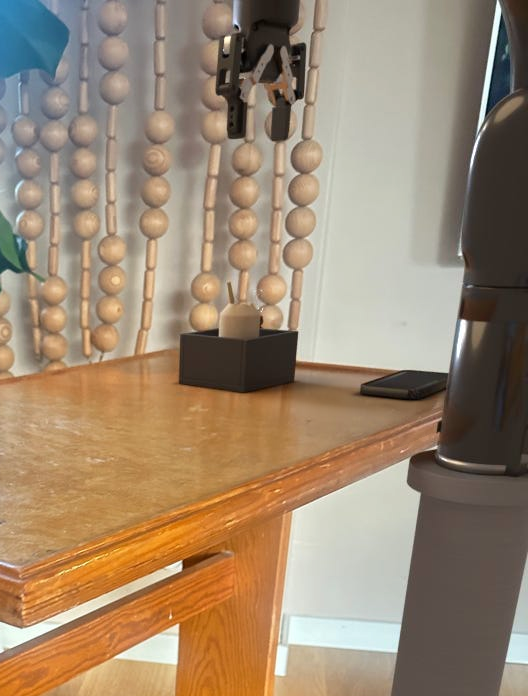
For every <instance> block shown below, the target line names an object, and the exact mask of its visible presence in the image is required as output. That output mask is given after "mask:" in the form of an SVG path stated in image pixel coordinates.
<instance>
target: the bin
mask: <svg viewBox="0 0 528 696" xmlns="http://www.w3.org/2000/svg"><path fill="white" fill-rule="evenodd" d="M298 342H299V331H298V330H288V329H287V330H286V329H276V328H275V329H274V328H259V337H256V338H250V339H239V338H228V337H219V327H216V328H211V329H209V328H208V329H203V330H197V331H190V332H184V333H180V334H179V355H178V357H179V359H178V360H179V361H178V384H180V385H185V386H186V385H187V386H193V387H194V386H195V387H201V388H209V389H214V390H222V391H223V390H224V391H228V392H229V391H230V392H237V393H243V394H245V393H248V392H253V391H258V390H261V389H266V388H271V387H275V386H279V385H280V386H281V385H283V384H287V383H292V382H293V383H294V382H295V376H296V367H297V366H296V365H297V353H298Z"/></svg>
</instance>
